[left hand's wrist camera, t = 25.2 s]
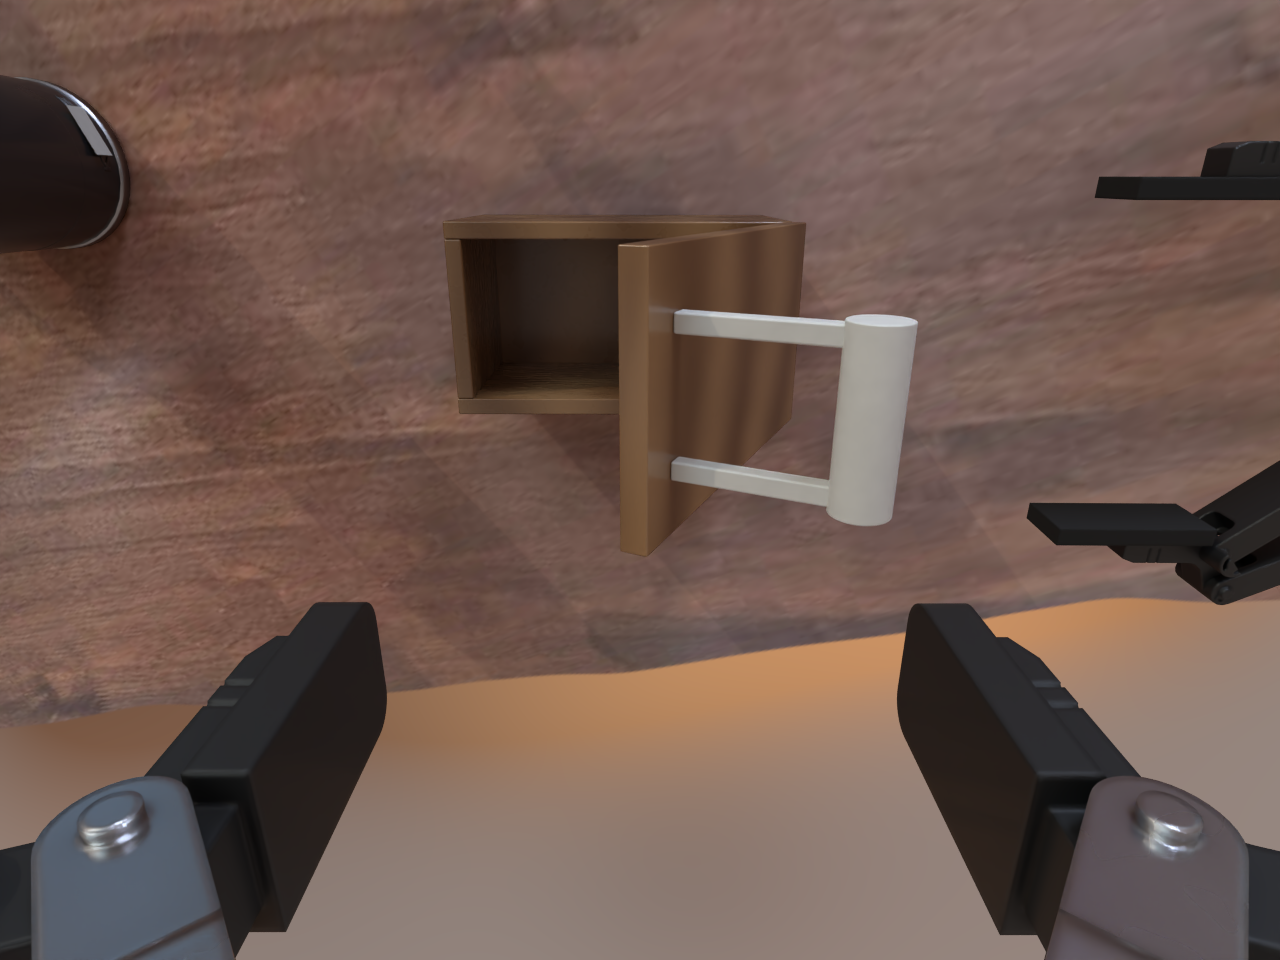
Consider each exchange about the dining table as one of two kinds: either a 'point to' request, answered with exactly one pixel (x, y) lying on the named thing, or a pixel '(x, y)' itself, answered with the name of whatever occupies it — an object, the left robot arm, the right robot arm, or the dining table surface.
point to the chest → (547, 305)
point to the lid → (743, 381)
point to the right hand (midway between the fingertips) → (1075, 369)
